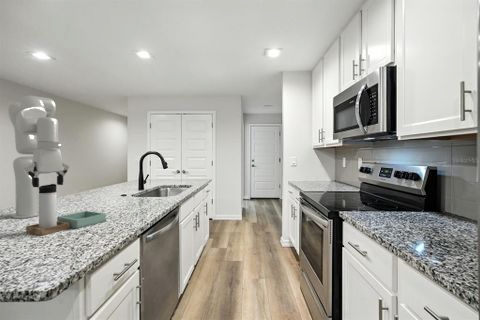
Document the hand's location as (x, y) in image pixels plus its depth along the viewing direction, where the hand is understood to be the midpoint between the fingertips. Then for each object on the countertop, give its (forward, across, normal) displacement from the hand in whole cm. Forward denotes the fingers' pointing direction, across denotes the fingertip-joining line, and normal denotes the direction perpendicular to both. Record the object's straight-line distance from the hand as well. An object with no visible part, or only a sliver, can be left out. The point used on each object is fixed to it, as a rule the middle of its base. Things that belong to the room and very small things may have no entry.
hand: (48, 185), depth 113 cm
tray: (+19, -14, +1) cm, 24 cm away
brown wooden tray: (+20, 0, -1) cm, 20 cm away
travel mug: (+20, 0, -1) cm, 20 cm away
